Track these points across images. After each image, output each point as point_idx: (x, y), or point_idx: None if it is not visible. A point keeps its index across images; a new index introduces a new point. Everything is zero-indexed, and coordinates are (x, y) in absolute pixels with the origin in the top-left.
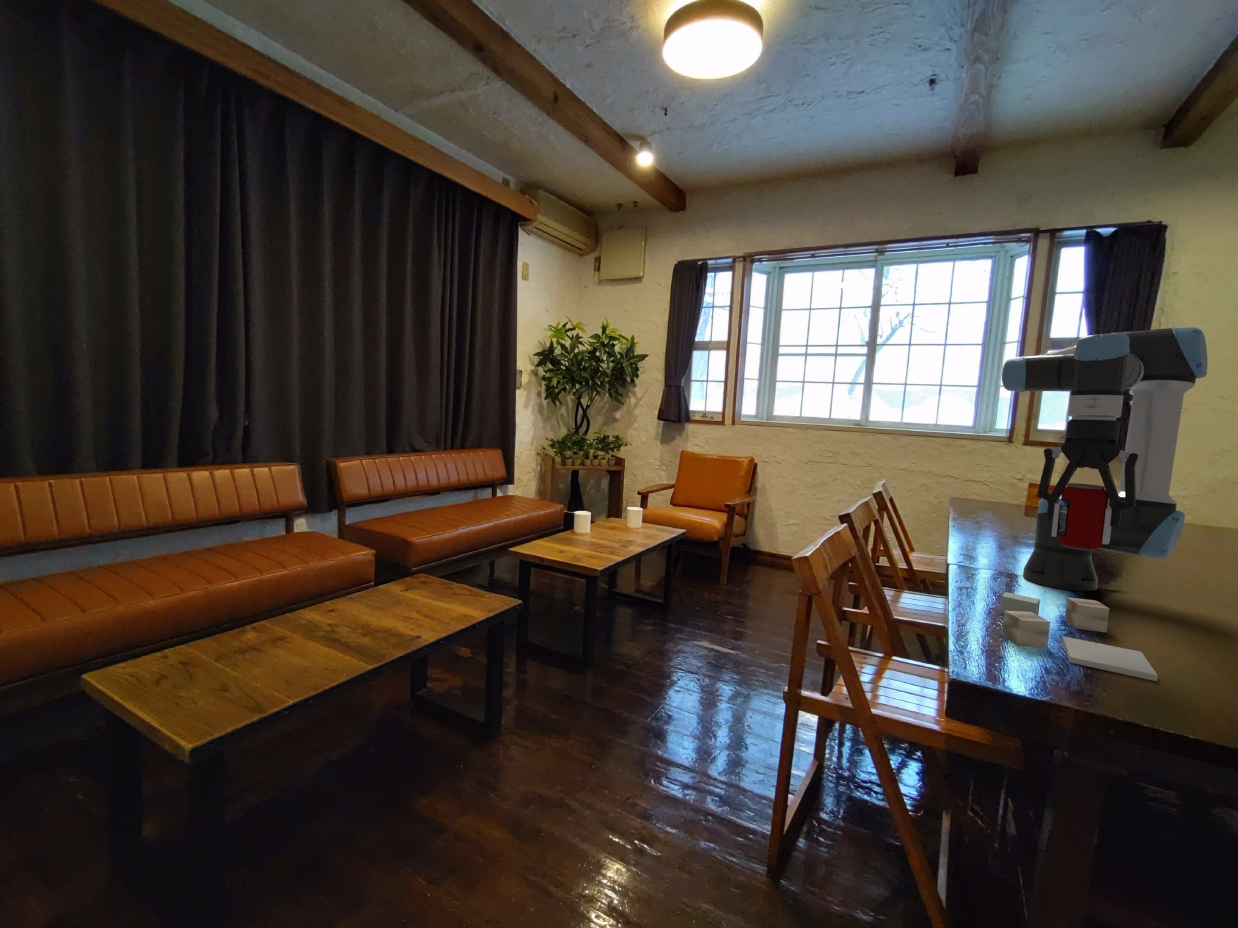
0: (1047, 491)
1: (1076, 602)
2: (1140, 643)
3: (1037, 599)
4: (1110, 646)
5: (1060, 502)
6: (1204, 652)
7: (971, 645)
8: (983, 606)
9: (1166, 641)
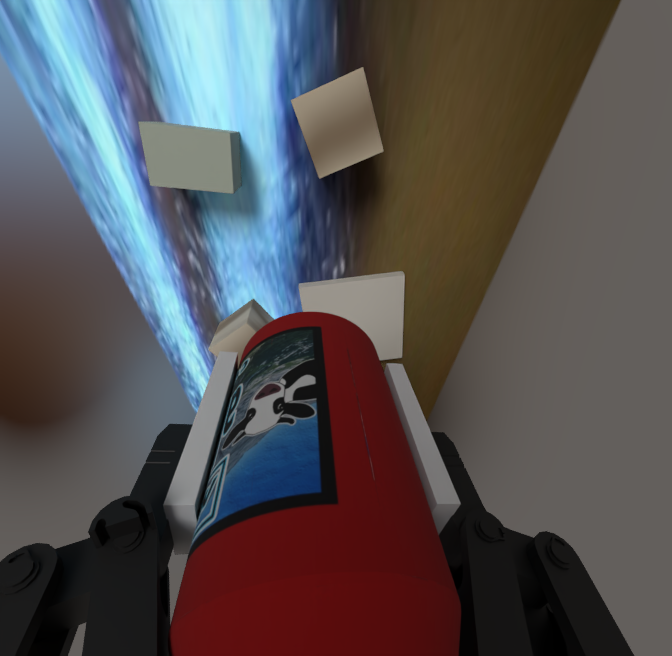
0: (40, 619)
1: (314, 151)
2: (420, 182)
3: (225, 143)
4: (364, 283)
5: (180, 504)
6: (522, 145)
7: (204, 391)
8: (116, 144)
9: (476, 115)
